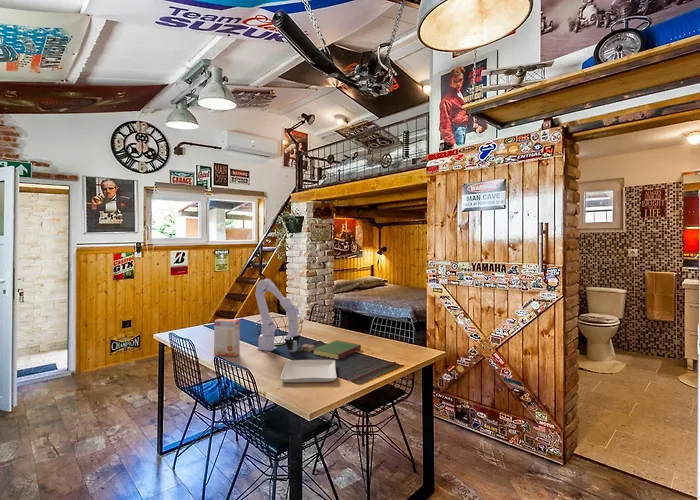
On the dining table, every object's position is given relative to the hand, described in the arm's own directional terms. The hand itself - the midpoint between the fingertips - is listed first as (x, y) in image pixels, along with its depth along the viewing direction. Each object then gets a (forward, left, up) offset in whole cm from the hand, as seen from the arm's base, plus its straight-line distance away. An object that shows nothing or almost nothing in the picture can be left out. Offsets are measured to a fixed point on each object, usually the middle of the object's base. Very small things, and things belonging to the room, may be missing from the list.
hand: (292, 348), depth 236 cm
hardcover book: (+27, +8, -2) cm, 28 cm away
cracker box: (-33, -21, -2) cm, 39 cm away
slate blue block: (0, 0, -2) cm, 2 cm away
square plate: (+27, -34, -2) cm, 43 cm away
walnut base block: (+8, +5, -2) cm, 10 cm away
